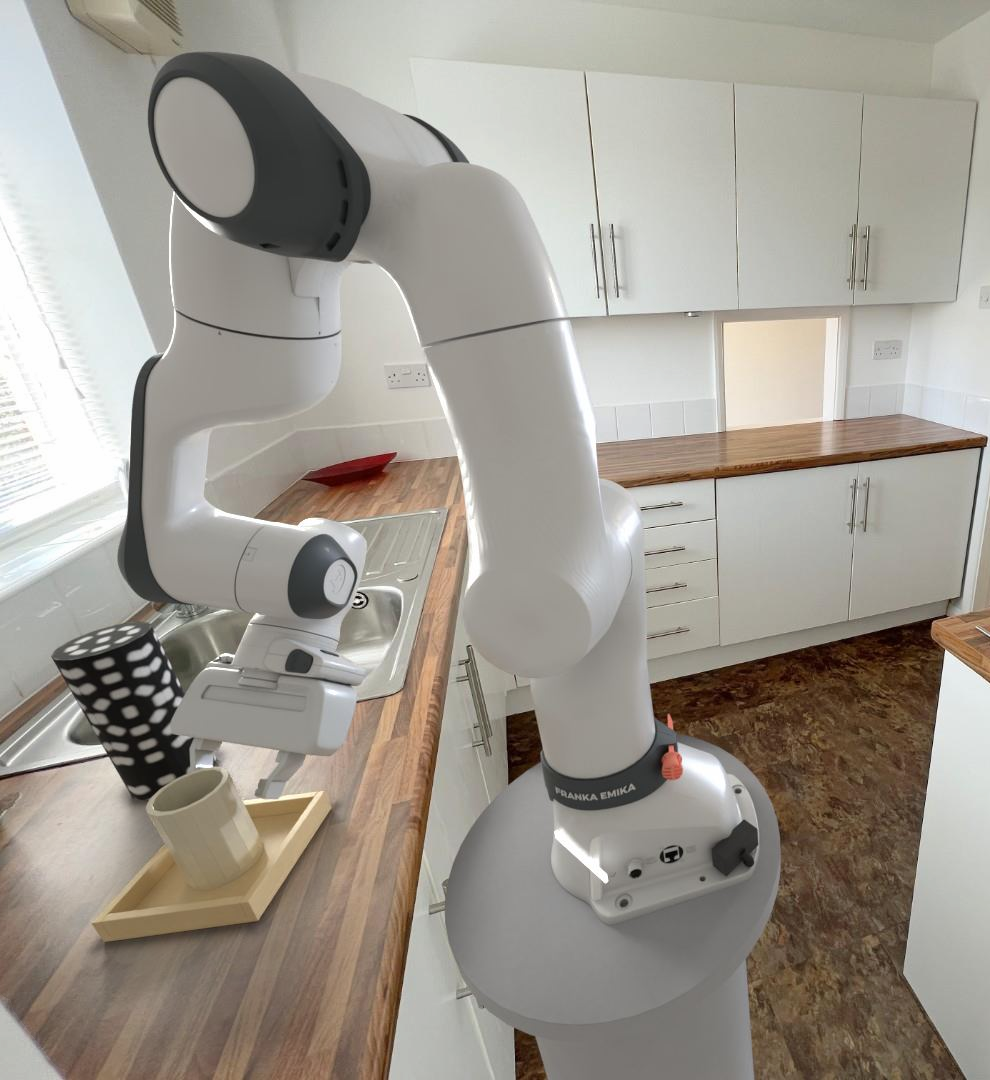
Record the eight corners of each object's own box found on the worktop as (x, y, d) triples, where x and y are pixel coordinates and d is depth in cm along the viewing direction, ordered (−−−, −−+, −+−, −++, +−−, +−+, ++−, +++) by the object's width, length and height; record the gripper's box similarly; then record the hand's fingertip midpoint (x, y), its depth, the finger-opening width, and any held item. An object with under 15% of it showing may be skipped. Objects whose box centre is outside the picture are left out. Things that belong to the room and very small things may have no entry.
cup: (276, 834, 64) (242, 762, 60) (239, 886, 58) (199, 810, 54) (216, 842, 63) (178, 770, 59) (172, 895, 57) (128, 819, 54)
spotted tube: (133, 774, 75) (58, 640, 67) (215, 742, 80) (153, 614, 72) (127, 812, 69) (44, 669, 61) (216, 775, 74) (149, 639, 66)
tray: (332, 807, 68) (325, 790, 67) (258, 921, 55) (248, 902, 54) (208, 823, 66) (199, 805, 66) (103, 942, 54) (91, 923, 53)
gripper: (186, 646, 65) (124, 778, 60) (333, 661, 60) (280, 806, 55) (240, 657, 71) (187, 779, 66) (378, 672, 66) (333, 805, 61)
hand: (231, 792), depth 60 cm, fingers open, 8 cm apart
